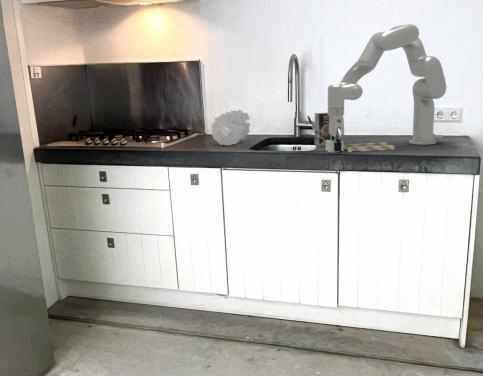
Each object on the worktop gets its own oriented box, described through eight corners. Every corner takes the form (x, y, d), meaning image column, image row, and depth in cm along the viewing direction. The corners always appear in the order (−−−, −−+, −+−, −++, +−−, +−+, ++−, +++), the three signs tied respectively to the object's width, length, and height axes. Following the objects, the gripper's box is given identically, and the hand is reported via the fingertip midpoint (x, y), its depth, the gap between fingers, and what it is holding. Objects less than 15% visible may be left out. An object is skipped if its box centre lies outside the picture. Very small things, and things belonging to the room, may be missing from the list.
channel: (385, 146, 248) (386, 142, 248) (394, 149, 239) (394, 145, 238) (341, 148, 246) (342, 144, 246) (348, 152, 237) (348, 147, 236)
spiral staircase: (218, 154, 269) (231, 144, 292) (247, 140, 263) (257, 131, 286) (202, 123, 266) (216, 116, 290) (230, 108, 260) (242, 102, 284)
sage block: (340, 149, 244) (340, 139, 243) (343, 151, 238) (343, 141, 237) (325, 150, 244) (325, 140, 242) (328, 152, 238) (328, 141, 237)
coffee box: (319, 146, 257) (319, 114, 253) (314, 144, 263) (314, 113, 260) (336, 144, 259) (336, 112, 256) (330, 143, 266) (330, 112, 262)
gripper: (349, 112, 229) (349, 152, 233) (338, 109, 245) (338, 146, 250) (333, 113, 228) (333, 153, 232) (323, 110, 245) (323, 147, 249)
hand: (335, 149), depth 241 cm, fingers closed on sage block, 6 cm apart
